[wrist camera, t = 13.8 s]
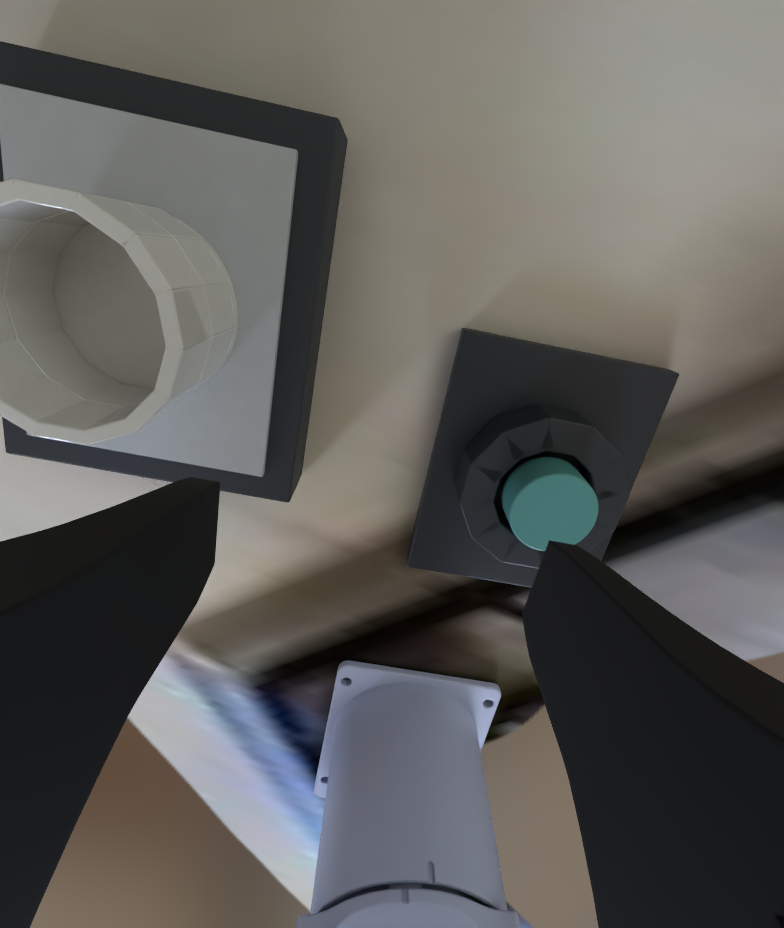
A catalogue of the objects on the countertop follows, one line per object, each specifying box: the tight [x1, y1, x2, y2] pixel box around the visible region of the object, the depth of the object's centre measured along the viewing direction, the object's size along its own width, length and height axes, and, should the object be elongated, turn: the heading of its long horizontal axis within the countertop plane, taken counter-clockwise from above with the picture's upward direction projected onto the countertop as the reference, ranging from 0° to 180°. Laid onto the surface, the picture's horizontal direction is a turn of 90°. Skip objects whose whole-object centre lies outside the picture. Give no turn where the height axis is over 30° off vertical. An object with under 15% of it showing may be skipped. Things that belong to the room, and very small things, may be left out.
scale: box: [0, 41, 347, 502], centre depth 17 cm, size 12×10×3 cm
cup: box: [0, 178, 238, 445], centre depth 13 cm, size 6×6×4 cm
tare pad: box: [407, 328, 679, 587], centre depth 19 cm, size 10×8×2 cm
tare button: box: [501, 457, 598, 551], centre depth 18 cm, size 3×3×2 cm
